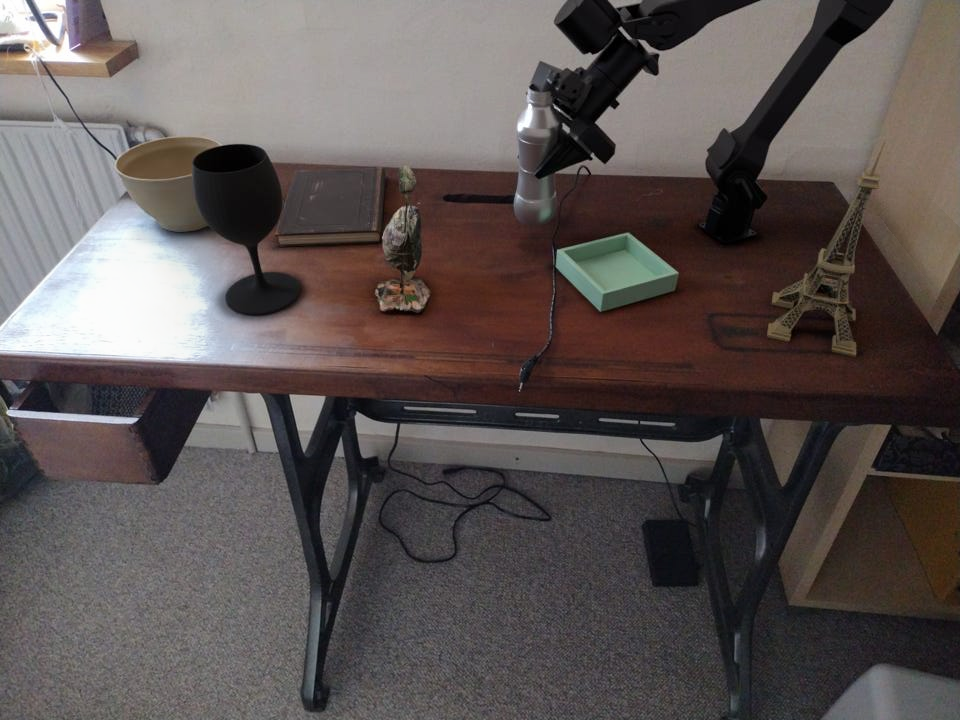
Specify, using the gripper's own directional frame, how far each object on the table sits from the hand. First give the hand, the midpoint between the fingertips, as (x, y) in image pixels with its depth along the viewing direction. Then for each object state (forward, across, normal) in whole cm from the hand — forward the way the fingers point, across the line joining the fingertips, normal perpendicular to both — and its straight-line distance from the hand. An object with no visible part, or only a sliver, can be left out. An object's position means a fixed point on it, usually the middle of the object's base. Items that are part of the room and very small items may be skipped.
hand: (527, 168), depth 96 cm
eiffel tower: (-11, +31, +30) cm, 44 cm away
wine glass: (+37, 0, -19) cm, 41 cm away
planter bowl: (+43, -26, -26) cm, 57 cm away
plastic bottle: (+5, 0, +7) cm, 9 cm away
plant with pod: (+24, +6, -6) cm, 25 cm away
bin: (+3, +12, +16) cm, 20 cm away
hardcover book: (+27, -22, -9) cm, 36 cm away
